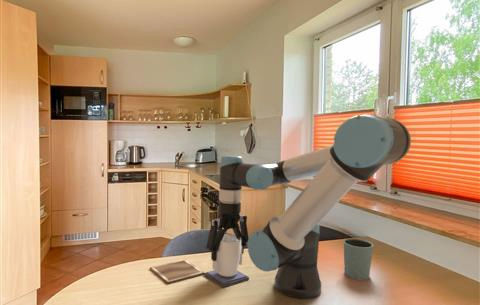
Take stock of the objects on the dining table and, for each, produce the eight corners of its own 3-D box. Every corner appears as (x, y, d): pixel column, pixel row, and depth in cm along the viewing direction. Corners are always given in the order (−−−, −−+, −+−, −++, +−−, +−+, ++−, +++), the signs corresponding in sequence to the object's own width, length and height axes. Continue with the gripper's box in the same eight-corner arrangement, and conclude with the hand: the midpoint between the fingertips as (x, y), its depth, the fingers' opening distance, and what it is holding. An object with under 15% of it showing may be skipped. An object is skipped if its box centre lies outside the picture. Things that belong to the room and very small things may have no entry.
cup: (241, 268, 117) (242, 235, 117) (239, 279, 108) (240, 243, 108) (216, 266, 118) (217, 233, 118) (211, 277, 109) (213, 241, 109)
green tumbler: (373, 282, 115) (375, 248, 114) (342, 278, 117) (345, 245, 116) (367, 270, 125) (370, 239, 124) (340, 267, 127) (342, 236, 126)
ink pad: (248, 279, 113) (249, 276, 113) (222, 287, 106) (222, 284, 106) (229, 268, 121) (229, 265, 121) (204, 275, 115) (204, 271, 115)
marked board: (204, 274, 115) (204, 272, 115) (167, 284, 107) (167, 282, 107) (184, 260, 126) (185, 259, 126) (149, 268, 118) (150, 267, 118)
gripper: (247, 196, 122) (245, 256, 123) (196, 202, 108) (194, 269, 109) (261, 200, 116) (258, 263, 117) (209, 206, 102) (206, 278, 104)
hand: (227, 266), depth 113 cm, fingers closed on cup, 9 cm apart
